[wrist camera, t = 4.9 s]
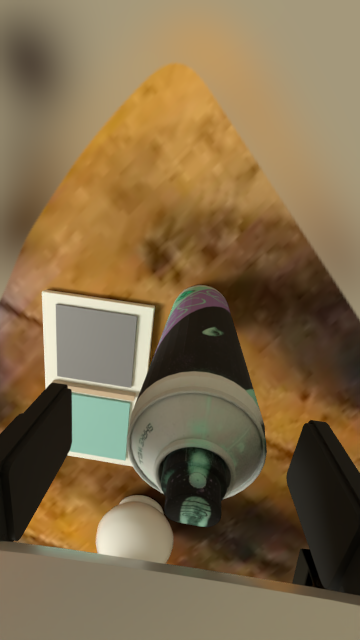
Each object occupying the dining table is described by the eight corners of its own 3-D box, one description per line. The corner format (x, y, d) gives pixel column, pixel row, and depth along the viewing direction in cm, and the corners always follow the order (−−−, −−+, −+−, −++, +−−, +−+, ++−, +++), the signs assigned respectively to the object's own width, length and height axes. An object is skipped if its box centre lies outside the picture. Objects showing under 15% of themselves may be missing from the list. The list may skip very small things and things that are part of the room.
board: (155, 305, 27) (152, 310, 26) (139, 461, 34) (136, 472, 32) (46, 289, 28) (37, 293, 26) (51, 447, 34) (45, 456, 33)
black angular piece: (331, 600, 40) (346, 645, 36) (279, 594, 41) (288, 638, 36) (350, 541, 36) (370, 584, 32) (293, 535, 36) (305, 577, 32)
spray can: (216, 275, 26) (251, 414, 7) (236, 326, 27) (311, 557, 8) (163, 297, 27) (67, 469, 8) (185, 345, 28) (150, 587, 9)
